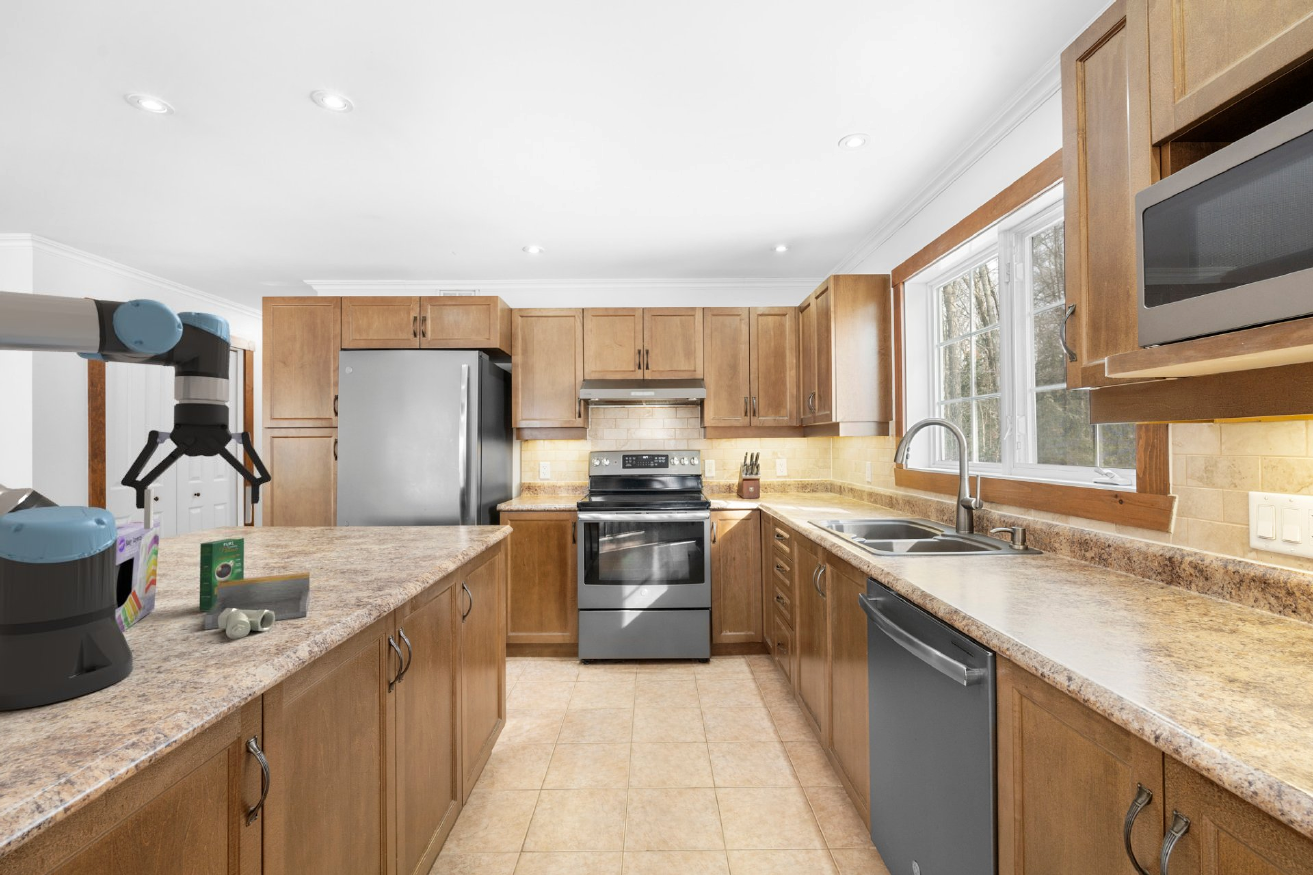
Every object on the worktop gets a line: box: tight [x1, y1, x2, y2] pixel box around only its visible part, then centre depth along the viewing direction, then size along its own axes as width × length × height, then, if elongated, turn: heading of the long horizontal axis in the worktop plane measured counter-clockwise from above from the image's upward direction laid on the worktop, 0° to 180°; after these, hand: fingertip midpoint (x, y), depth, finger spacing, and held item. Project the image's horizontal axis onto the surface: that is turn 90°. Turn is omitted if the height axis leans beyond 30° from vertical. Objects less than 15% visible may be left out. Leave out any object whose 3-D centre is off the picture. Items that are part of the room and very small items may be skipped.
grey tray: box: [204, 571, 311, 631], centre depth 108 cm, size 13×15×6 cm
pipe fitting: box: [218, 608, 276, 640], centre depth 97 cm, size 8×4×7 cm
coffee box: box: [199, 537, 245, 612], centre depth 114 cm, size 8×3×13 cm, turn 175°
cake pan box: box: [115, 520, 161, 632], centre depth 101 cm, size 19×5×18 cm, turn 24°
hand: (200, 525), depth 99 cm, fingers open, 13 cm apart
